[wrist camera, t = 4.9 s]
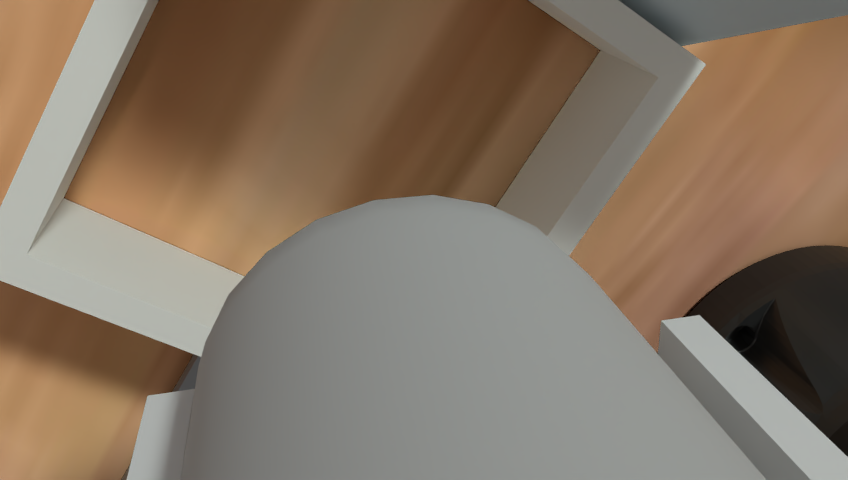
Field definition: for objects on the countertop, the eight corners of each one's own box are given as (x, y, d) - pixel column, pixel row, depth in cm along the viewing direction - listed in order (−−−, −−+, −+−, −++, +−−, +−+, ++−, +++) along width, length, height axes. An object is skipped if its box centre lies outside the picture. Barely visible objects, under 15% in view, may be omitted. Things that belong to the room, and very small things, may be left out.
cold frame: (411, 375, 35) (509, 693, 21) (17, 210, 28) (-221, 518, 14) (722, -81, 29) (1151, -55, 15) (313, -427, 22) (397, -966, 8)
